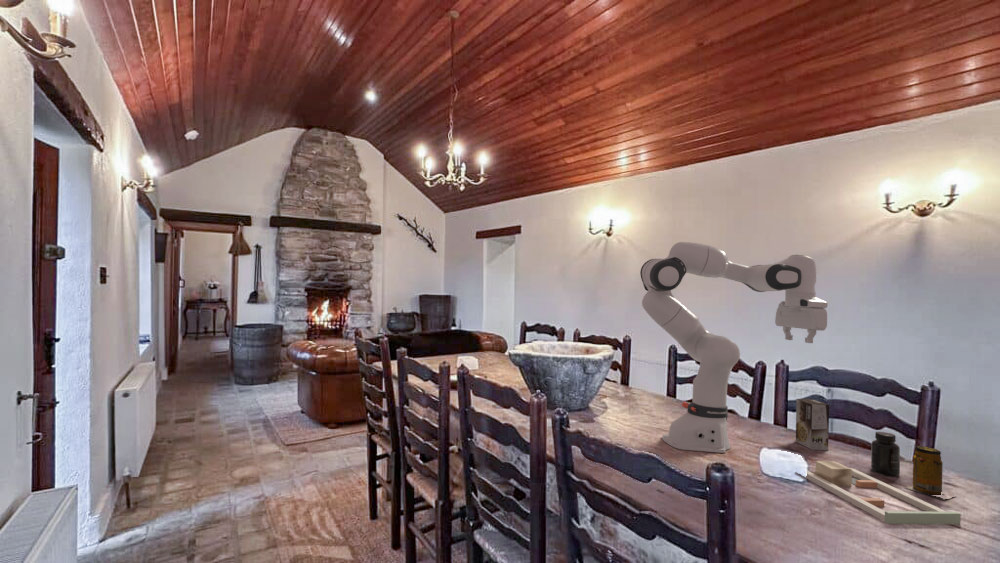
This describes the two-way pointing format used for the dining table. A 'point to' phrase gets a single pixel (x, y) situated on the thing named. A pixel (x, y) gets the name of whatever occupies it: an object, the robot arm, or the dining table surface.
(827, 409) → the coffee box
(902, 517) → the frame
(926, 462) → the condiment
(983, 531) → the dining table surface
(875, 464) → the supplement bottle
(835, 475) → the oak block
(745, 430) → the dining table surface
